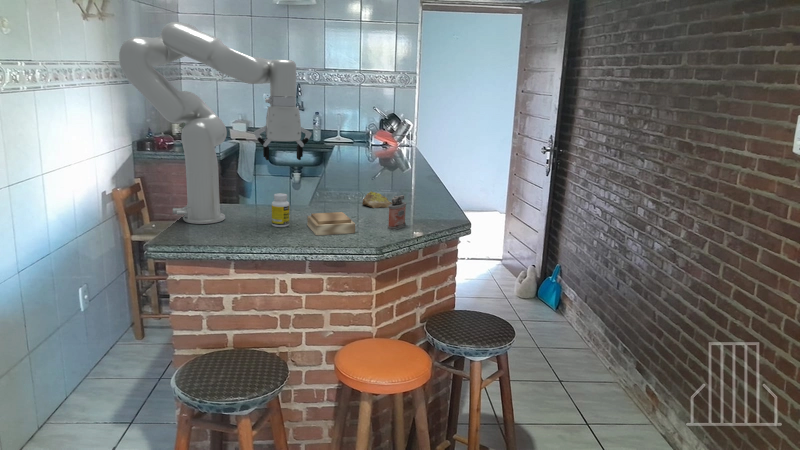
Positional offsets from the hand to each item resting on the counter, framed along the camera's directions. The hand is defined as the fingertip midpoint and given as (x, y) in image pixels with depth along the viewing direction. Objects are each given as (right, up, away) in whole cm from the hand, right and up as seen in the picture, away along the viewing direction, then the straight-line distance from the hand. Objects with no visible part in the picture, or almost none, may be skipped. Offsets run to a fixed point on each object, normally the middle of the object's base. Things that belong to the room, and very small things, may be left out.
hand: (283, 159), depth 182 cm
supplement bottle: (-2, -20, +4) cm, 21 cm away
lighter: (+35, -21, +8) cm, 41 cm away
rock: (+27, -13, +37) cm, 47 cm away
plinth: (+14, -21, +2) cm, 26 cm away
